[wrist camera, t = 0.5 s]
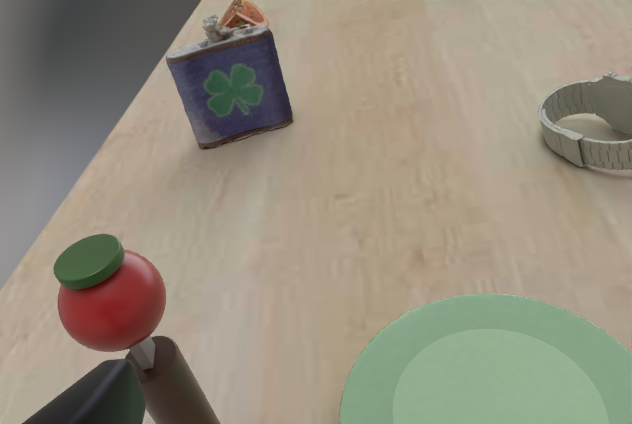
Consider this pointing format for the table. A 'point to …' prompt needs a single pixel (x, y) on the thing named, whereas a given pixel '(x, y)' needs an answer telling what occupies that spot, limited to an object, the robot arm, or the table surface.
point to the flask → (231, 83)
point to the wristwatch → (597, 97)
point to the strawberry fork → (128, 323)
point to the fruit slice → (243, 15)
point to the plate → (490, 367)
